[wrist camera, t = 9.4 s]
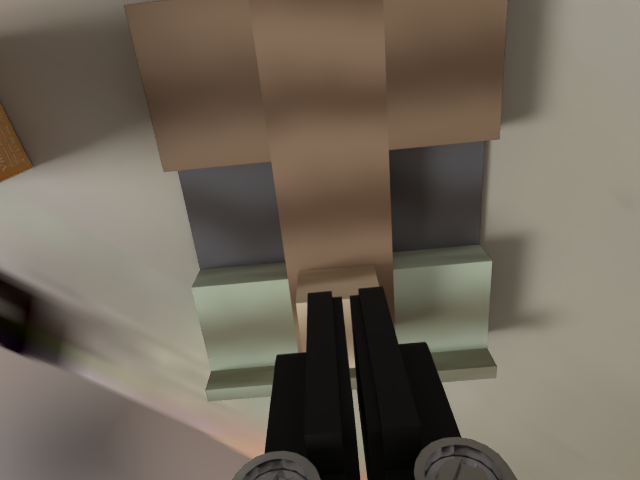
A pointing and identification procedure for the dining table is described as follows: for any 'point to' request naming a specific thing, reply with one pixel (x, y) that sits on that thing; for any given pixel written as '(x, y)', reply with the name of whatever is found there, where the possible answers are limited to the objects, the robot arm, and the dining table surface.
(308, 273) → the maple cube
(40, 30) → the dining table surface
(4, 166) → the small box
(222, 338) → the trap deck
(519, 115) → the dining table surface
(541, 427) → the dining table surface
